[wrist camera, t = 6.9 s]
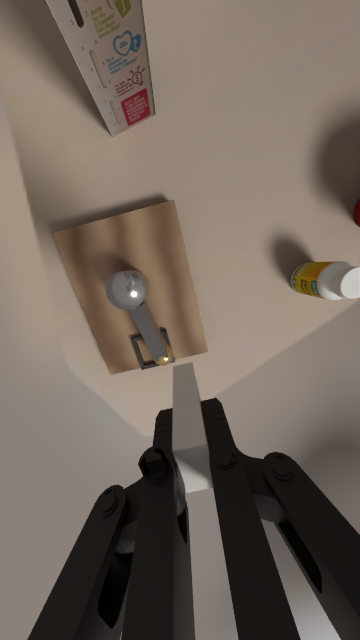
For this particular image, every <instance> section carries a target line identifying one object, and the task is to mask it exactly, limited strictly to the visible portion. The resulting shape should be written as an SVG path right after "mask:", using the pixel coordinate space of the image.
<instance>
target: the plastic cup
mask: <svg viewBox="0 0 360 640" xmlns="http://www.w3.org/2000/svg"><path fill="white" fill-rule="evenodd" d="M354 216H355V221H356V223H357V224H358V226H359V227H360V200H359V202H358V203H357V205H356V208H355V213H354Z"/></svg>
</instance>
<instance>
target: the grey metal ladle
mask: <svg viewBox="0 0 360 640" xmlns="http://www.w3.org/2000/svg"><path fill="white" fill-rule="evenodd" d="M105 290H106V296H107V298H108V300H109V301H110V303H111V304H112V305H113V306H115V307H116V308H118V309H121V310H129V313H130V315H131V316H132V318H133V320H134V322H135V324H136V326H137V327H138V329H139V331H140V333H141V335H142V337H143V338H144V340H145V342H146V344H147V346H148V348H149V349H150V351H151V353H152V355H153V359H154V361H155V362H156V363H157V364H159V365H167V364H169V363H170V362H171V361H172V359H173V355H174V354H173V350H172V349H171V347H170V346H168V345H167V343H166V341H165V339H164V337H163V335H162V333H161V331H160V329H159V327H158V325H157V323H156V321H155V319H154V317H153V315H152V313H151V311H150V309H149V307H148V305H147V303H146V301H144V300H145V298H146V297H147V296H148V294H149V291H150V284H149V281H148V279H147V277H146V276H145V275H144V274H143V273H141V272H139V271H136V270H127V271H120V272H117V273H115V274H113V275H112V276H111V277H110V278H109V279H108V281H107V283H106V288H105ZM143 301H144V302H143Z"/></svg>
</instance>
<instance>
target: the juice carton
mask: <svg viewBox="0 0 360 640" xmlns="http://www.w3.org/2000/svg"><path fill="white" fill-rule="evenodd" d="M46 2H47V4H48V6H49V8H50V10H51V12H52V14H53V16H54V18H55V20H56V22H57V24H58V27H59V29H60V31H61V33H62V35H63V37H64V39H65V41H66V43H67V45H68V47H69V49H70V51H71V53H72V55H73V57H74V59H75V62H76V64H77V66H78V68H79V70H80V72H81V74H82V76H83V78H84V80H85V82H86V84H87V86H88V88H89V90H90V92H91V94H92V97H93V99H94V101H95V103H96V105H97V107H98V109H99V111H100V113H101V115H102V117H103V119H104V121H105V123H106V125H107V127H108V129H109V131H110V134H111V136H112V137H113V136H115V135H117V134H119V133H121V132H123V131H125V130H127V129H129V128H131V127H133V126H134V125H136V124H138V123H140V122H142V121H144V120H146V119H148V118H150V117H152V116H154V115H155V106H154V98H153V90H152V82H151V74H150V66H149V57H148V49H147V41H146V33H145V25H144V17H143V8H142V0H46Z"/></svg>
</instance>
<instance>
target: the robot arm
mask: <svg viewBox="0 0 360 640" xmlns="http://www.w3.org/2000/svg"><path fill="white" fill-rule="evenodd" d="M138 465H139V467H140V469H141V472H142V474H143V477H142V478H141V479H140V480H138V481H137V482H136V483H134V484H132V485H130V486H129V487H127V488H125V489H123V487H122V486H120V485H113V486H111V487H109V488H107V489H106V490H105V491H104V492H103V493H102V494H101V495H100V496H99V498H98V499H97V501H96V503H95V505H94V507H93V509H92V511H91V512H90V515H89V517H88V519H87V521H86V523H85V525H84V527H83V529H82V531H81V533H80V535H79V537H78V539H77V541H76V543H75V545H74V547H73V549H72V551H71V553H70V555H69V557H68V559H67V561H66V563H65V565H64V567H63V569H62V571H61V573H60V575H59V577H58V579H57V581H56V583H55V585H54V587H53V589H52V591H51V593H50V595H49V597H48V599H47V601H46V603H45V605H44V607H43V610H42V611H41V613H40V615H39V618H38V620H37V622H36V623H35V626H34V627H33V629H32V632H31V634H30V636H29V638H28V640H119V639H120V636H121V632H122V637H121V640H195V628H194V610H193V591H192V573H191V555H190V538H189V537H190V536H189V518H188V507H187V503H186V500H185V489H186V492H187V493H188V492H193V491H198V490H204V489H209V488H213V489H214V495H215V501H216V507H217V513H218V518H219V525H220V531H221V536H222V543H223V549H224V554H225V560H226V567H227V573H228V578H229V584H230V591H231V597H232V603H233V608H234V614H235V621H236V627H237V632H238V639H239V640H301V639H300V636H299V633H298V631H297V627H296V624H295V621H294V618H293V615H292V613H291V609H290V606H289V603H288V600H287V597H286V595H285V591H284V588H283V585H282V582H281V579H280V576H279V573H278V570H277V567H276V564H275V561H274V558H273V555H272V552H271V549H270V546H269V543H268V540H267V537H266V534H265V531H264V528H263V525H262V522H261V519H263V520H267V521H271V522H274V524H275V526H276V527H277V529H278V531H279V533H280V534H281V536H282V538H283V539H284V541H285V543H286V545H287V546H288V548H289V550H290V551H291V553H292V555H293V556H294V559H295V560H296V562H297V564H298V566H299V567H300V569H301V571H302V572H303V574H304V576H305V578H306V579H307V581H308V583H309V585H310V586H311V588H312V590H313V592H314V593H315V595H316V597H317V598H318V600H319V602H320V604H321V605H322V607H323V609H324V611H325V612H326V614H327V616H328V618H329V619H330V621H331V623H332V625H333V626H334V628H335V630H336V631H337V633H338V635H339V637H340V639H341V640H360V535H359V534H358V533H357V531H356V530H355V529H354V528H353V527H352V526H351V525H350V524H349V522H348V521H347V520H346V519H345V518H344V517H343V515H342V514H341V513H340V512H339V511H338V510H337V509H336V507H335V506H334V505H333V504H332V503H331V502H330V501H329V499H328V498H327V497H326V496H325V495H324V494H323V493H322V491H321V490H320V489H319V488H318V487H317V486H316V485H315V484H314V482H313V481H312V480H311V479H310V478H309V477H308V475H307V474H306V473H305V472H304V471H303V470H302V469H301V467H300V466H299V465H298V464H297V463H296V462H295V461H294V460H293V459H292V458H291V457H289V456H287V455H285V454H283V453H279V452H273V453H269V454H268V455H266V456H265V457H264V459H259V458H253V457H249V456H247V455H245V454H243V453H242V452H240V451H239V450H238V448H237V447H236V445H235V443H234V440H233V437H232V434H231V431H230V428H229V425H228V422H227V419H226V416H225V413H224V410H223V407H222V404H221V402H220V401H219V400H218V399H217V398H213V399H209V400H204V401H202V399H201V394H200V390H199V386H198V382H197V378H196V374H195V370H194V366H193V362H191V363H187V364H183V365H178V366H174V367H173V408H170V409H166V410H161V411H160V412H159V414H158V416H157V417H156V423H155V431H154V439H153V447H150V448H149V449H147V450H146V451H145V452H144V453H143V454H142V456H141V457H140V460H139V463H138ZM122 628H123V629H122Z"/></svg>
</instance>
